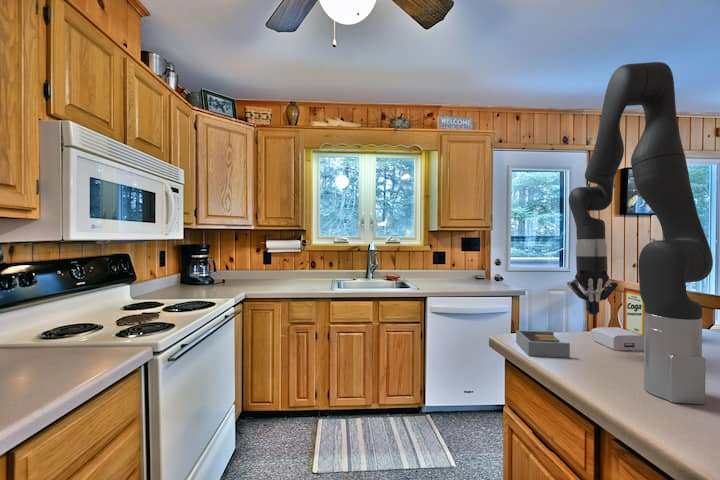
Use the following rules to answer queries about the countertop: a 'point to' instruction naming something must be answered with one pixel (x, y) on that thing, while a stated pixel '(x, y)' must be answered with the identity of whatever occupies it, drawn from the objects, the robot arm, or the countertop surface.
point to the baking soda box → (633, 311)
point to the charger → (618, 338)
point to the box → (541, 345)
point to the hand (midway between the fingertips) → (592, 314)
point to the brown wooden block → (545, 338)
